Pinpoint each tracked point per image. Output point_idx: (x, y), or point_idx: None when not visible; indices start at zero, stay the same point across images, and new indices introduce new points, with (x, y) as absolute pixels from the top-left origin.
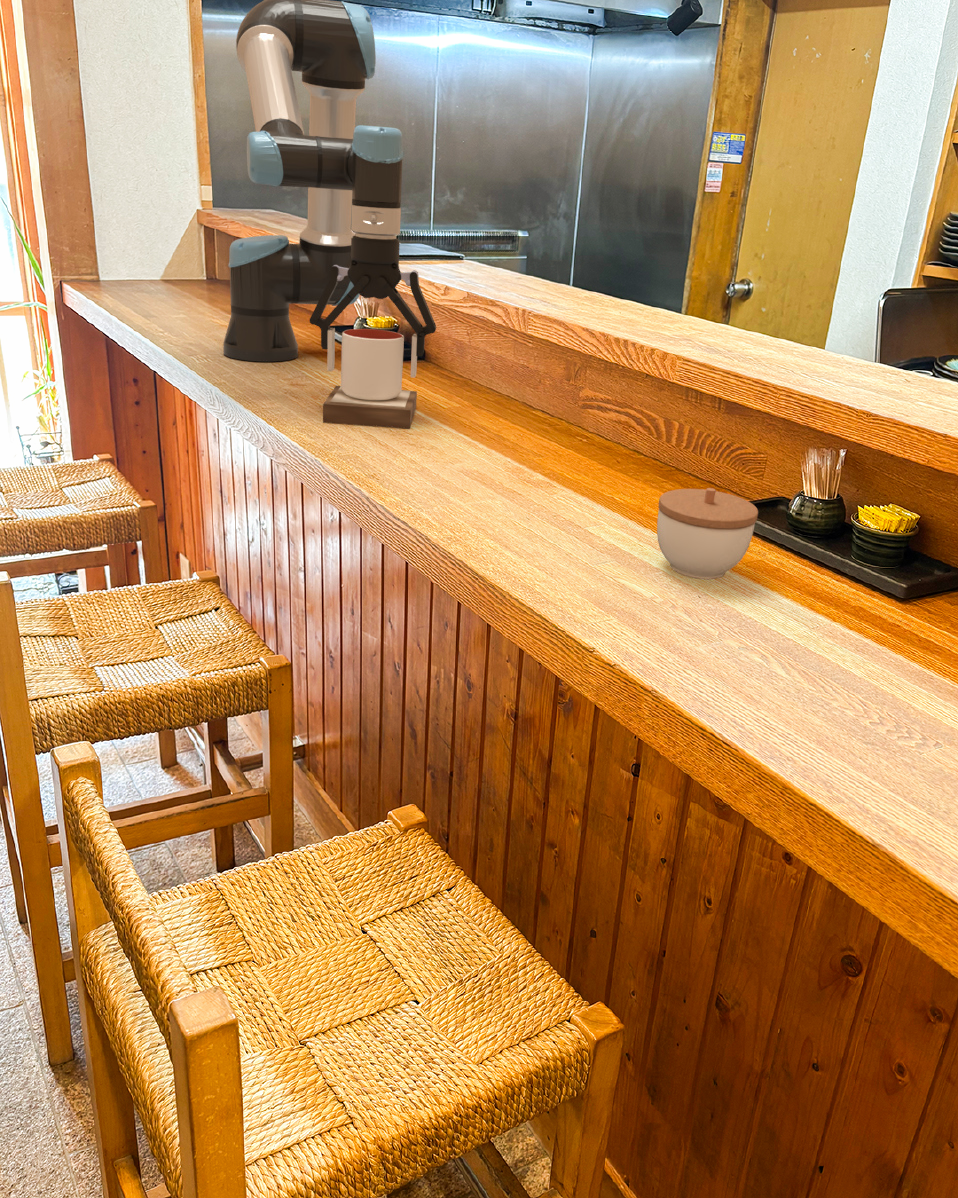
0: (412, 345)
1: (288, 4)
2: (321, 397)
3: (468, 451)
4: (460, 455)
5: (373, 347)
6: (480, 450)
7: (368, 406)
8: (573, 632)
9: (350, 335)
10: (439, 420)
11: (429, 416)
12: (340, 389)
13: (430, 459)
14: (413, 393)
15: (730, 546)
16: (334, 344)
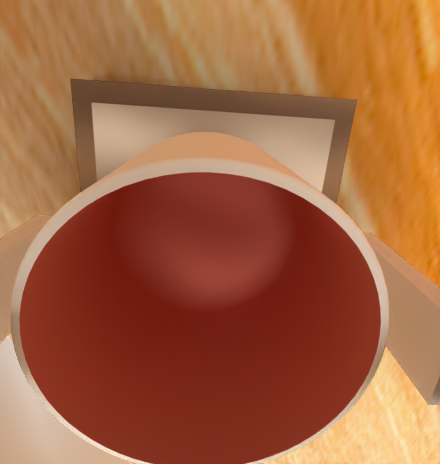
0: (404, 366)
1: None
2: (29, 9)
3: (389, 413)
4: (369, 433)
5: (215, 435)
6: (412, 405)
7: None
8: None
9: (55, 240)
10: (379, 219)
11: (360, 185)
12: (102, 163)
13: (316, 456)
14: (340, 136)
15: None
16: (1, 262)
